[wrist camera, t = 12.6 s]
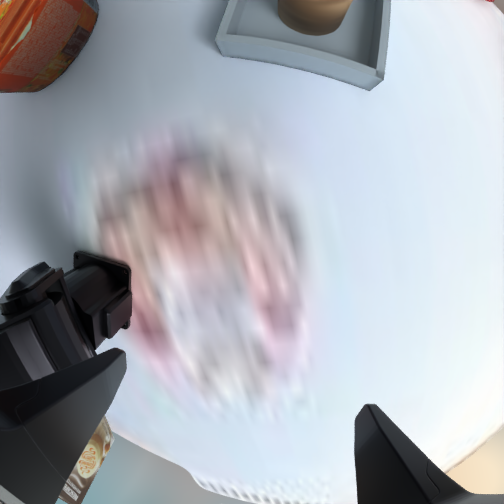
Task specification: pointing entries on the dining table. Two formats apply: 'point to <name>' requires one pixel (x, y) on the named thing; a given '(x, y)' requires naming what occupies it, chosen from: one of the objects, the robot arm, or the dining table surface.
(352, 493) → the dining table surface
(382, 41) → the bin
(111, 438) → the coffee box
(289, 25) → the walnut cylinder
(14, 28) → the food container
